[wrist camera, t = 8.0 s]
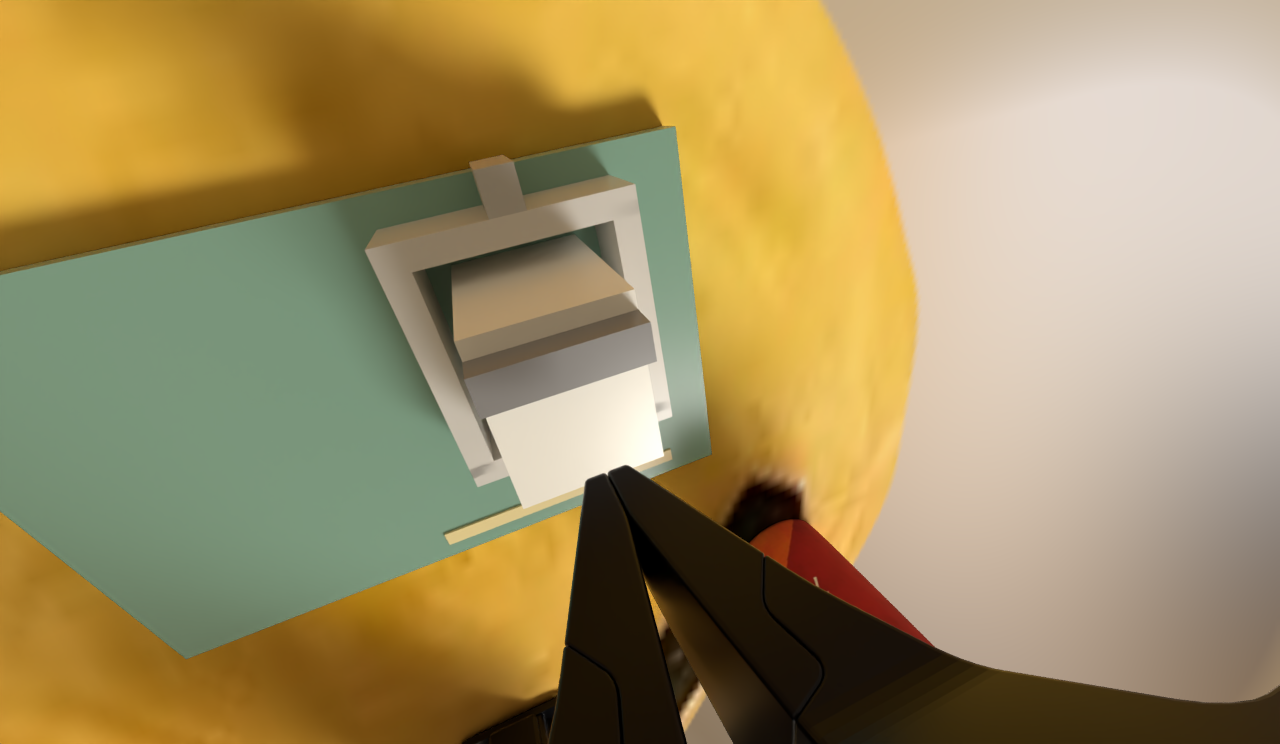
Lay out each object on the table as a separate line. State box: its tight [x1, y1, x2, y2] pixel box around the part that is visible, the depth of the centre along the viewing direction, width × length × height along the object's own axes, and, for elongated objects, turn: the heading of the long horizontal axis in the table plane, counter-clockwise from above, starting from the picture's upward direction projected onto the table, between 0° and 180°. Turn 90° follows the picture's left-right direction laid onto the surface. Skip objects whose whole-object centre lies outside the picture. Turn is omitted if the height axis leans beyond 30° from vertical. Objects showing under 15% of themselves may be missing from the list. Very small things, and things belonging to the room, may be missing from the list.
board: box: [0, 126, 712, 659], centre depth 16 cm, size 14×22×4 cm, turn 99°
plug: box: [451, 234, 664, 509], centre depth 14 cm, size 5×4×7 cm
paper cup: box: [749, 519, 933, 646], centre depth 24 cm, size 8×8×14 cm
